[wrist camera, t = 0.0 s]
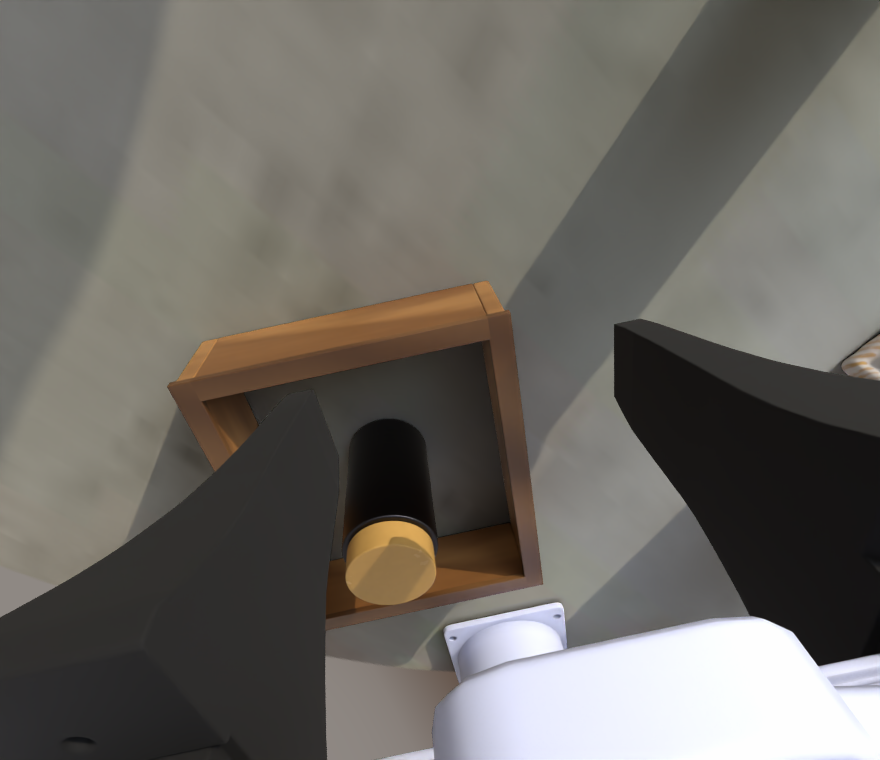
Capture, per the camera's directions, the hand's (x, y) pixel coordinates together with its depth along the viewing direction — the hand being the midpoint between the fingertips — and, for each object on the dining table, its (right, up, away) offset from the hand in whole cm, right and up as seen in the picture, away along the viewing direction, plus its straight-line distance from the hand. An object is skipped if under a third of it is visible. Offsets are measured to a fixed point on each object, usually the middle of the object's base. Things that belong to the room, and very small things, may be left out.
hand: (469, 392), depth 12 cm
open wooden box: (-3, -3, +13) cm, 14 cm away
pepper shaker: (-3, -3, +13) cm, 14 cm away
